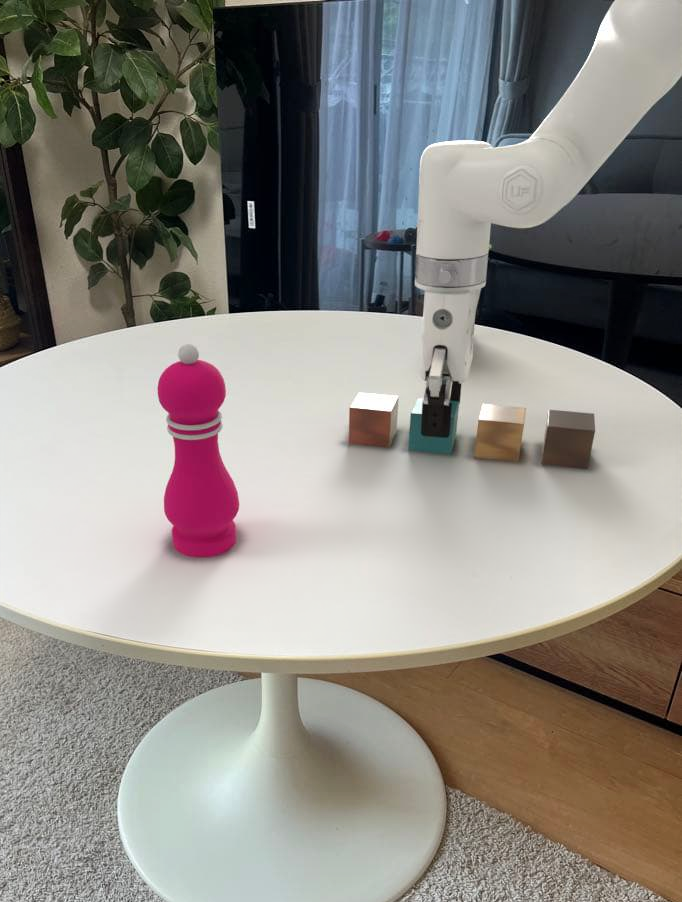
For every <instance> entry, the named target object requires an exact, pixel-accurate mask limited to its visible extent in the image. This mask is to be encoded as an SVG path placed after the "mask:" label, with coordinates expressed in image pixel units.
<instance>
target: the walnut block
mask: <svg viewBox="0 0 682 902" xmlns="http://www.w3.org/2000/svg"><path fill="white" fill-rule="evenodd" d="M546 416H547V418H546V424H545V429H544V434H543V435H544V436H543V442H542V448H541V462H540V465H545V466H553V467H560V468H561V467H563V468H572V469H582V470H589V469H588V468H589V464H590V459H591V454H592V449H593V444H594V439H595V434H596V422H595V421H596V420H595V413H592V412H591V413H590V412H581V411H580V412H579V411H570V410H569V411H567V410H557V409H548V411H547V415H546Z"/></svg>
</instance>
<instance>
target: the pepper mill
mask: <svg viewBox="0 0 682 902" xmlns="http://www.w3.org/2000/svg"><path fill="white" fill-rule="evenodd" d="M177 355H178V359H179V361H176V362H173V363H172V364H170V365H168V366H167V368H165V369H164V371H163V372H162V373H161V375H160V376H159V379H158V383H157V397H158V401H159V404H160V406H161V407H162V408H163V410H164V411H165V412H167V413H168V414H167V416H166V418H165V421H166V423H167V428H166V430H167V433H168V434H169V435H170V436H172V439H173V443H174V463H173V467H172V471H171V474H170V476H169V479H168V481H167V483H166V485H165V491H164V495H163V512H164V515H165V517H166V519H167V521H168V522H169V523H170V524H171V525H172V527H171V537H172V545H173V548H174V549H175V550H176V551H177V552H178V553H179V554H181V555H183V556H187V557H191V558H211V557H216V556H220V555H223V554H224V553H226V552H228V551H230V550H232V548H233V547H234V546H235V545H236V542H237V527H236V526H237V525H236V523H235V522H234V520H235V518H236V516H237V515H238V512H239V510H240V498H239V492H238V490H237V487H236V485H235V484H236V483H235V481H234V480H233V478H232V476H231V475H230V473H229V471H228V469H227V468H226V466H225V464H224V461H223V458H222V456H221V453H220V447H219V433H220V432H221V431H222V430H223V427H224V426H223V425H224V424H223V422H222V419H223V414H222V412H221V411H220V410H219V409H220V408H221V407H222V405H223V404H224V402H225V399H226V396H227V389H226V388H227V387H226V382H225V379H224V377H223V375H222V373H221V371H220V370H219V369H218V368H217V367H216V366H215V365H213V364H211V363H209V362H207V361H206V360H201V359H199V358H200V352H199V350H198V348H197V347H196V345H194V344H192V343H185V344H182V346H180V348H179V349H178V353H177Z"/></svg>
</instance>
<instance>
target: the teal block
mask: <svg viewBox="0 0 682 902" xmlns="http://www.w3.org/2000/svg"><path fill="white" fill-rule="evenodd" d="M423 401H424V397H417V399H416V400H415V403H414V405H413V408H412V410H411V412H410V417H409V418H410V419H409V433H408V451H416V452H423V453H432V454H433V453H434V454H441V455H452V451H453V448H454V445H455V441H456V439H457V430H458V419H459V410H460V404H459V401H450V403H452V412H451V426H450V435H449V437H448V438H441V437H429V436H422V435H421V420H422V402H423Z"/></svg>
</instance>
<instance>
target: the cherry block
mask: <svg viewBox="0 0 682 902" xmlns="http://www.w3.org/2000/svg"><path fill="white" fill-rule="evenodd" d="M399 398H400V396H399V395H390V394H379V393H369V392H368V393H367V392H358V393H357V395H356V396H355V398H354V400H353V401H352V403H351V404H350V406H349V408H348V409H349V413H348V414H349V415H348V419H349V420H348V444H349V445H359V446H367V447H375V448H376V447H379V448H386V449H390V447H391V445H392V443H393V440H394V439H395V436H396V434H397V432H398V418H399V417H398V415H399Z"/></svg>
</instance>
